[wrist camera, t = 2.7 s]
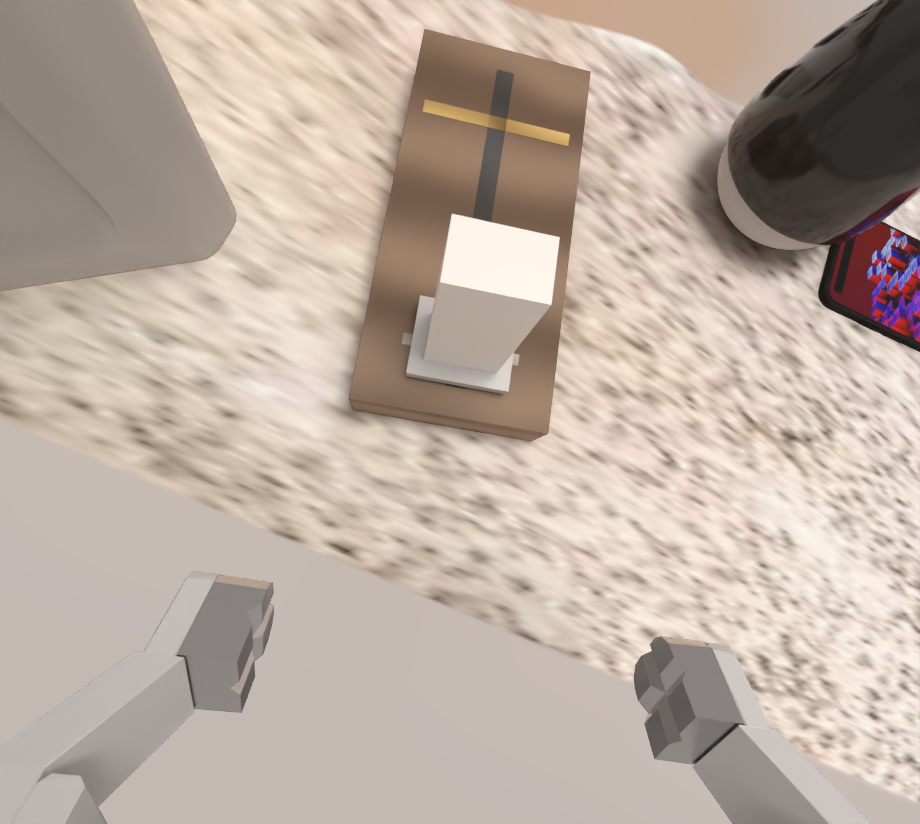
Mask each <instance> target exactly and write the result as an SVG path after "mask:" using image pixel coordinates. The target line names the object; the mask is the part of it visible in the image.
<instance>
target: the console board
mask: <svg viewBox="0 0 920 824" xmlns="http://www.w3.org/2000/svg"><path fill="white" fill-rule="evenodd" d="M590 73H591V72H590V71H586V70H582V69H578V68H574V67H570V66H567V65H563V64H559V63H555V62H551V61H547V60H543V59H539V58H535V57H532V56H528V55H524V54H520V53H516V52H512V51H508V50H504V49H501V48H497V47H493V46H489V45H485V44H481V43H477V42H473V41H470V40H466V39H462V38H458V37H454V36H450V35H446V34H442V33H438V32H435V31H431V30H427V29H424V33H423V38H422V43H421V48H420V53H419V58H418V63H417V68H416V73H415V77H414V82H413V87H412V92H411V97H410V102H409V107H408V112H407V116H406V121H405V126H404V131H403V136H402V141H401V146H400V151H399V156H398V160H397V165H396V170H395V175H394V180H393V185H392V190H391V195H390V200H389V204H388V209H387V214H386V219H385V224H384V229H383V234H382V239H381V244H380V248H379V253H378V258H377V263H376V268H375V273H374V278H373V283H372V288H371V292H370V297H369V302H368V307H367V312H366V317H365V322H364V327H363V332H362V336H361V341H360V346H359V351H358V356H357V361H356V366H355V371H354V376H353V380H352V385H351V390H350V395H349V400H350V402H351V405H352V407H353V410H356V411H362V412H368V413H374V414H379V415H385V416H391V417H397V418H402V419H408V420H414V421H420V422H425V423H431V424H437V425H443V426H448V427H454V428H460V429H466V430H471V431H477V432H483V433H489V434H494V435H500V436H506V437H511V438H517V439H523V440H529V441H533V440H535V439H537V438H540V437H542V436H544V435H546V434H548V431H549V422H550V414H551V405H552V397H553V388H554V380H555V371H556V363H557V354H558V346H559V337H560V329H561V320H562V311H563V303H564V294H565V286H566V277H567V269H568V260H569V252H570V243H571V235H572V226H573V218H574V209H575V201H576V192H577V184H578V175H579V167H580V158H581V150H582V141H583V133H584V124H585V116H586V107H587V98H588V90H589V81H590ZM452 214H456V215H461V216H465V217H470V218H474V219H479V220H483V221H488V222H492V223H497V224H501V225H506V226H511V227H515V228H520V229H524V230H529V231H533V232H538V233H542V234H547V235H552V236H556V237H560V240H559V248H558V256H557V264H556V272H555V280H554V288H553V297H552V305H551V306H550V307H549V309H548V310H547V311H546V312H545V314H544V315H543V316H542V317H541V319H540V320H539V321H538V322H537V324H536V325H535V326H534V327H533V329H532V330H531V331H530V332H529V334H528V335H527V336H526V337H525V339H524V340H523V341H522V342H521V344H520V345H519V346H518V347H517V349H516V350H515V351H514V355H513V362H512V370H511V377H510V384H509V392H508V393H507V394H500V393H495V392H490V391H484V390H479V389H473V388H468V387H462V386H457V385H451V384H446V383H440V382H435V381H430V380H424V379H419V378H413V377H408V376H406V371H407V365H408V360H409V354H410V349H411V343H412V338H413V332H414V327H415V321H416V316H417V310H418V305H419V299H420V295H422V296H427V297H432V298H435V294H436V289H437V285H438V280H439V275H440V270H441V265H442V260H443V255H444V250H445V245H446V240H447V235H448V230H449V225H450V221H451V216H452Z"/></svg>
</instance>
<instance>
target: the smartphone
mask: <svg viewBox="0 0 920 824" xmlns="http://www.w3.org/2000/svg"><path fill="white" fill-rule="evenodd" d="M818 294H819V299H820V301H821V302H822V304H823V305H824V306H825V307H827V308H829V309H831V310H833V311H835V312H837V313H839V314H841V315H843V316H845V317H847V318H850V319H852V320H854V321H856V322H858V323H860V324H862V325H864V326H866V327H869V328H871V329H873V330H875V331H877V332H879V333H881V334H883V335H885V336H888V337H890V338H892V339H894V340H896V341H898V342H900V343H902V344H904V345H907V346H909V347H911V348H913V349H915V350H917V351H919V352H920V241H919V240H917V239H915V238H913V237H911V236H910V235H908V234H906V233H904V232H902V231H900V230H898V229H896V228H894V227H892V226H890V225H888V224H886V223H884V222H882V221H881V222H880V223H878V224H877V225H875V226H874V227H872V228H871V229H869V230H867V231H866V232H864V233H862V234H860V235H859V236H857V237H855V238H853V239H851V240H848V241H846V242H842V243H839V244H833V245H831V246H830V250H829V254H828V258H827V261H826V265H825V269H824V273H823V277H822V280H821V284H820V288H819V293H818Z"/></svg>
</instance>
